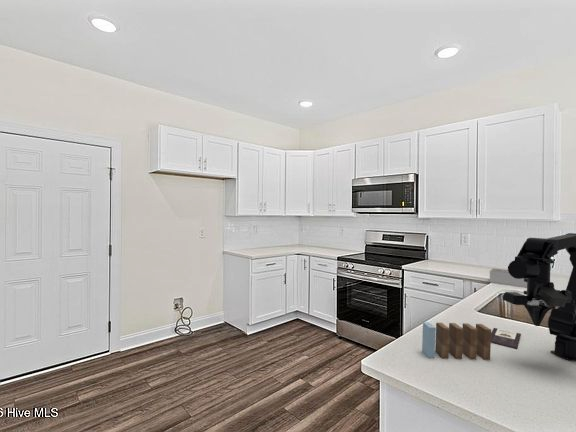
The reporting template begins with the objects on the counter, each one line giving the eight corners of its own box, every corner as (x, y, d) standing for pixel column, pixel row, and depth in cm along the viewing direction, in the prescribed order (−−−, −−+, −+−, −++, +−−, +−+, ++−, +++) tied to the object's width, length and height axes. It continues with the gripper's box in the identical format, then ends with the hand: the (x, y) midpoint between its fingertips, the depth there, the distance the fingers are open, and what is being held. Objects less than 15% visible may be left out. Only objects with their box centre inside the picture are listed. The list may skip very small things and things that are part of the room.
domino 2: (441, 351, 106) (442, 322, 106) (448, 358, 101) (449, 328, 101) (435, 351, 106) (436, 322, 106) (442, 358, 101) (443, 328, 101)
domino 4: (467, 352, 106) (468, 323, 106) (476, 359, 101) (477, 329, 101) (461, 352, 106) (462, 323, 106) (470, 359, 101) (471, 328, 101)
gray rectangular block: (492, 279, 234) (492, 268, 234) (540, 286, 216) (540, 273, 216) (489, 283, 221) (489, 271, 221) (539, 290, 203) (540, 277, 203)
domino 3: (454, 352, 106) (455, 323, 106) (462, 359, 101) (463, 328, 101) (448, 352, 106) (449, 322, 106) (455, 358, 101) (456, 328, 101)
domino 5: (480, 353, 106) (481, 323, 106) (490, 360, 101) (491, 329, 101) (474, 352, 106) (475, 323, 106) (483, 359, 101) (485, 329, 101)
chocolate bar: (487, 340, 116) (493, 327, 130) (487, 343, 116) (493, 330, 130) (517, 347, 110) (520, 333, 124) (517, 350, 110) (520, 336, 124)
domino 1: (427, 351, 106) (428, 322, 106) (434, 358, 101) (435, 327, 101) (422, 351, 106) (422, 322, 106) (428, 358, 101) (429, 327, 101)
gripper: (528, 282, 92) (526, 334, 92) (592, 284, 91) (590, 336, 92) (502, 274, 103) (501, 321, 103) (559, 276, 103) (557, 323, 103)
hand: (536, 325), depth 100 cm, fingers closed
